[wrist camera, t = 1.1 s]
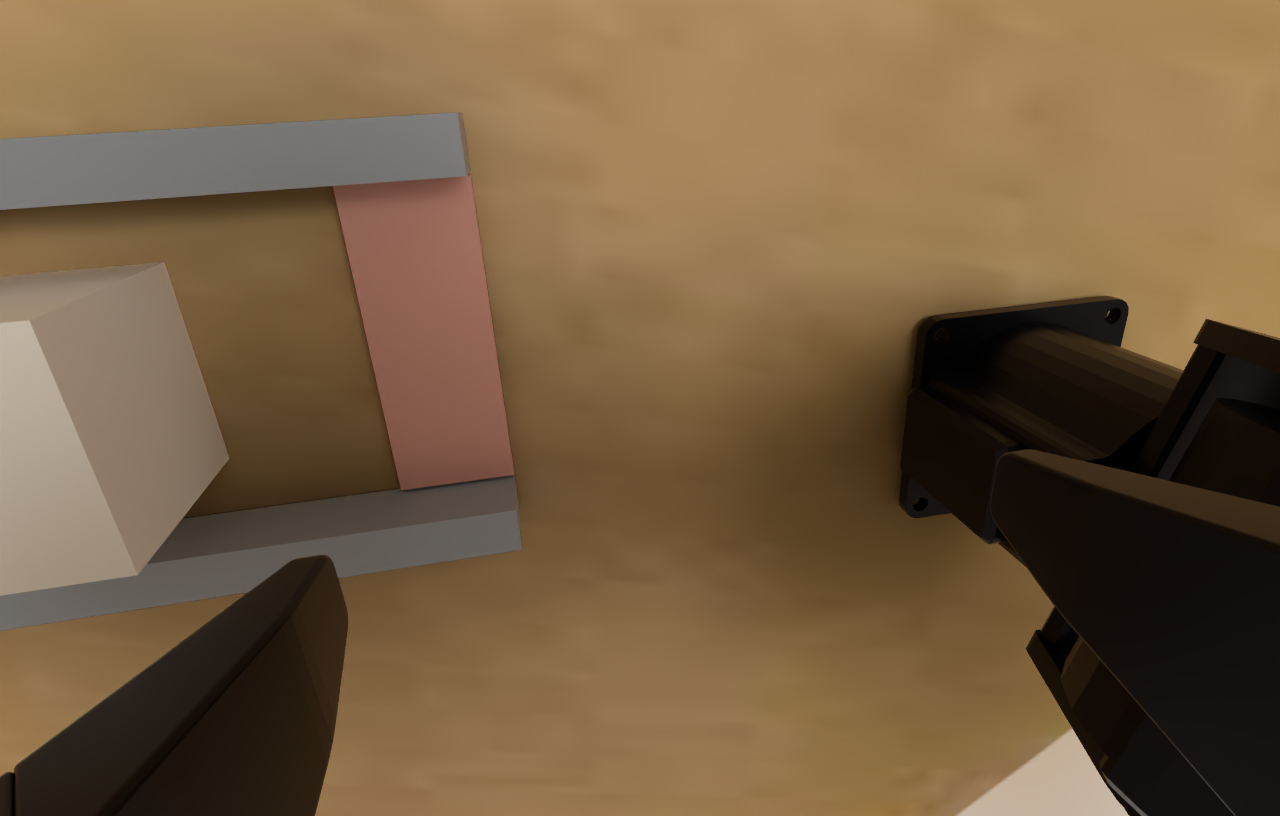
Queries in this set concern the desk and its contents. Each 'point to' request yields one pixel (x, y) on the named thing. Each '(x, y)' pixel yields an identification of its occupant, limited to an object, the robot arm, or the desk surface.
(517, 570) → the desk surface
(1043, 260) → the desk surface
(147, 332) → the cream block
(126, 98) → the desk surface
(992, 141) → the desk surface
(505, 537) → the u-shaped bracket
